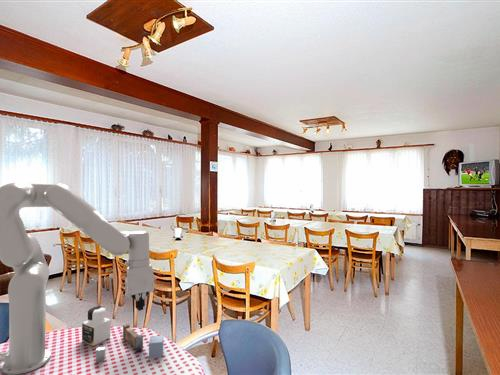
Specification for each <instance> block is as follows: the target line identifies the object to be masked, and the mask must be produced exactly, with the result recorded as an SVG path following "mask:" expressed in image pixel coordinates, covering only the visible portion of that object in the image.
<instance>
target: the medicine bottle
mask: <svg viewBox="0 0 500 375" xmlns="http://www.w3.org/2000/svg"><path fill="white" fill-rule="evenodd" d="M81 325H82V326H81V342H84V343H85V344H88V345H90V346H96V345H98V344H100V343H102V342H104V341H106V340H108V339H110V338H111V319H110V318H107V317H106V307H105V306H101V305H99V306H94V307H91V308H90V309H88V310H87V320H85V321H83V322H82V323H81Z"/></svg>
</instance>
